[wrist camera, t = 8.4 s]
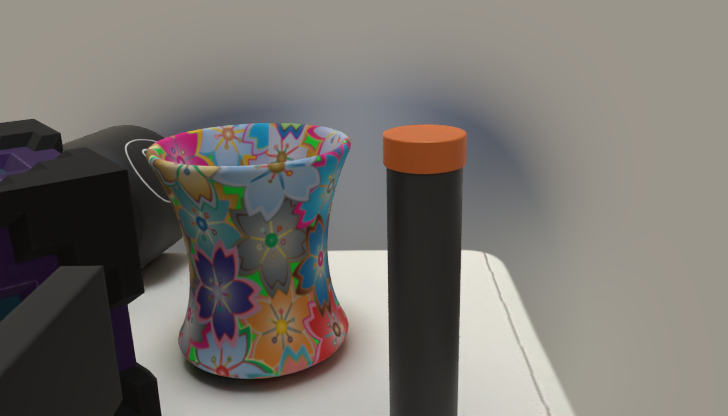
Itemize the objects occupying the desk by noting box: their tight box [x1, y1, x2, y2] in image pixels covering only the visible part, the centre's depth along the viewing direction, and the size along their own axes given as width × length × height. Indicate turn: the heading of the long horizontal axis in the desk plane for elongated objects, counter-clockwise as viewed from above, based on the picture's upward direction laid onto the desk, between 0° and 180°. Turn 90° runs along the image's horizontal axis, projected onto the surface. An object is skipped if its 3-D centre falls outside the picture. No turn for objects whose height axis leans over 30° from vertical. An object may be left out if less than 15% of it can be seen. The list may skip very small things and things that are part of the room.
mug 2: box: [146, 123, 351, 379], centre depth 34 cm, size 12×9×11 cm
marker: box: [383, 125, 467, 416], centre depth 23 cm, size 3×3×13 cm
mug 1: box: [62, 125, 183, 269], centre depth 44 cm, size 12×9×7 cm
